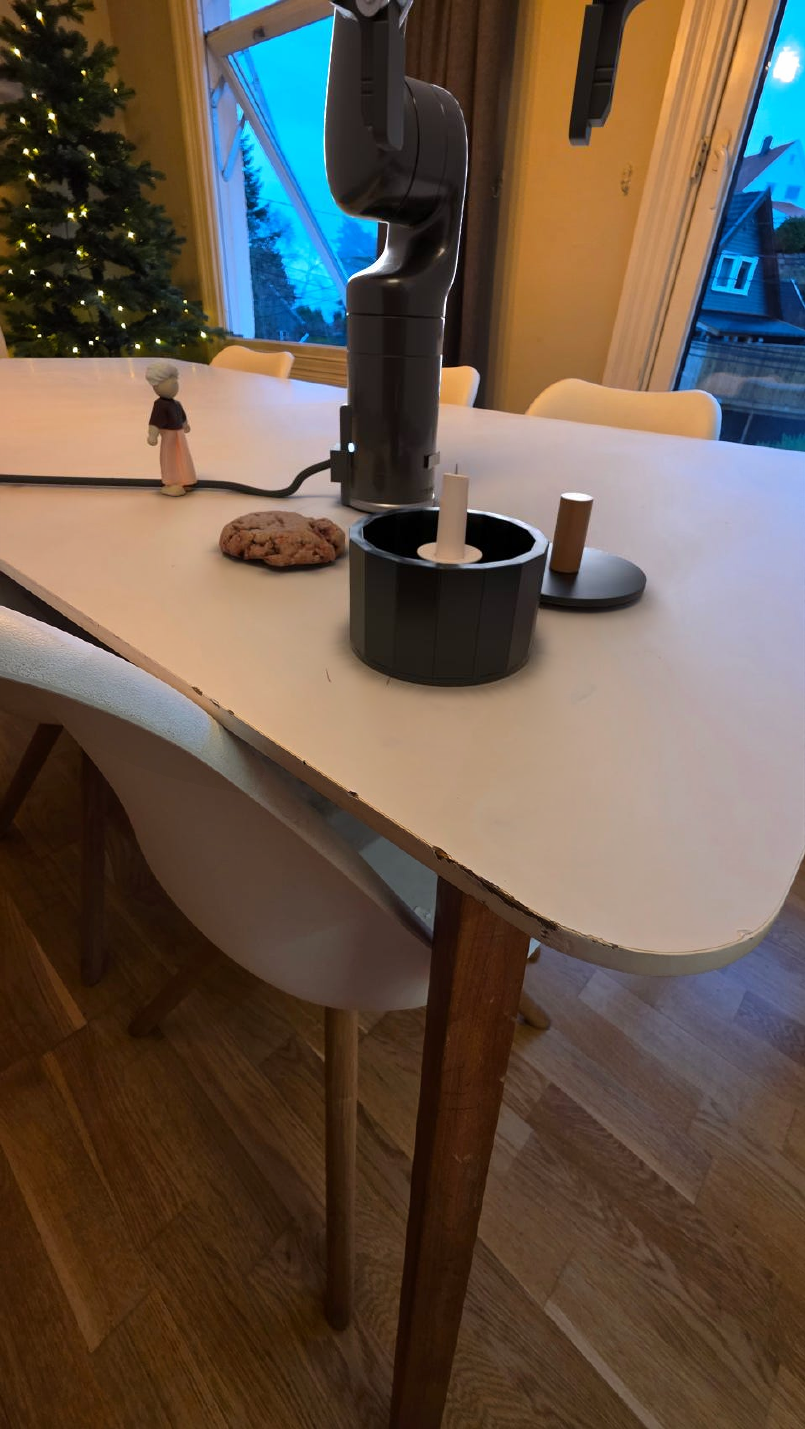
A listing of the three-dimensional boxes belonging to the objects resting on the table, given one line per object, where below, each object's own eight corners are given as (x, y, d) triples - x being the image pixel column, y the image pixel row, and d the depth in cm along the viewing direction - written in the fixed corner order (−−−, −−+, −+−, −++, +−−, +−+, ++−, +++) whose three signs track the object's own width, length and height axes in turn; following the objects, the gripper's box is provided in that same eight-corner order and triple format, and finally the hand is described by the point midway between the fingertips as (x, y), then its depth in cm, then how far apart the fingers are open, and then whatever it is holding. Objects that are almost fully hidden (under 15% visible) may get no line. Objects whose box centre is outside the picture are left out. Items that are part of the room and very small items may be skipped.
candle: (426, 610, 43) (436, 450, 38) (496, 629, 41) (518, 462, 35) (387, 638, 39) (392, 464, 34) (462, 660, 37) (481, 479, 32)
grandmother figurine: (187, 499, 66) (168, 363, 59) (151, 497, 66) (127, 361, 59) (207, 482, 73) (192, 357, 66) (174, 480, 73) (155, 355, 66)
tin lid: (467, 598, 47) (476, 507, 43) (498, 548, 57) (508, 471, 53) (642, 626, 44) (668, 530, 40) (643, 568, 54) (664, 487, 50)
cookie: (227, 534, 57) (224, 500, 55) (344, 535, 58) (343, 502, 57) (211, 573, 49) (206, 535, 47) (347, 573, 50) (346, 536, 48)
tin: (320, 664, 37) (315, 549, 33) (385, 595, 47) (388, 498, 43) (512, 702, 34) (531, 582, 31) (541, 621, 44) (559, 520, 40)
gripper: (779, -517, 20) (648, 161, 29) (360, -410, 23) (359, 164, 32) (836, -883, 14) (648, 119, 23) (258, -664, 17) (292, 129, 26)
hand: (478, 145), depth 27 cm, fingers open, 8 cm apart
